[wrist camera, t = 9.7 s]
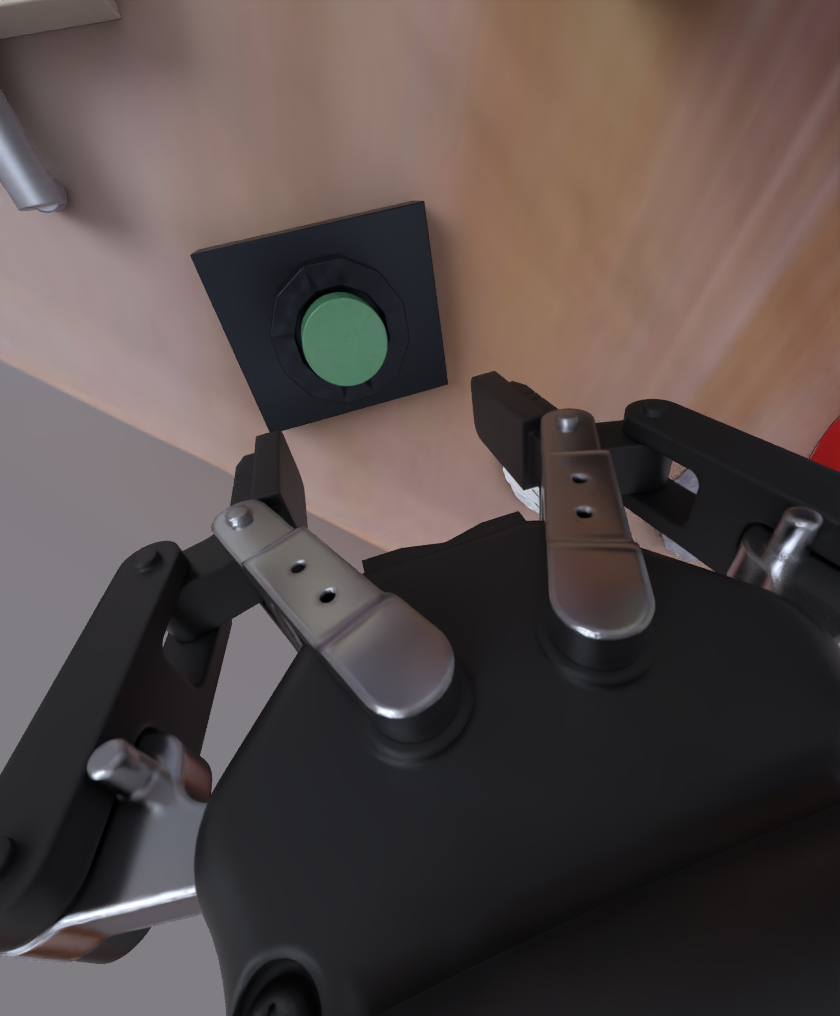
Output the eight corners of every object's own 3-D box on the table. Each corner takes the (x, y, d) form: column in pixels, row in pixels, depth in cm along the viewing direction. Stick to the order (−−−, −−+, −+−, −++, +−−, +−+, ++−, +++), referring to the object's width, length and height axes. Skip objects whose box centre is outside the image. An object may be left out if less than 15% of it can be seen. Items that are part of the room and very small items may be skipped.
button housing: (413, 200, 23) (434, 201, 20) (438, 373, 29) (457, 394, 26) (196, 250, 22) (183, 258, 19) (271, 420, 28) (270, 447, 25)
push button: (371, 282, 22) (377, 288, 20) (389, 364, 24) (395, 374, 23) (288, 302, 21) (289, 310, 20) (316, 384, 24) (318, 395, 23)
